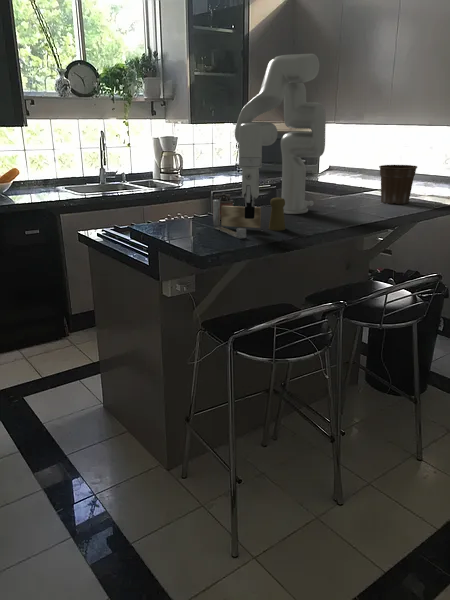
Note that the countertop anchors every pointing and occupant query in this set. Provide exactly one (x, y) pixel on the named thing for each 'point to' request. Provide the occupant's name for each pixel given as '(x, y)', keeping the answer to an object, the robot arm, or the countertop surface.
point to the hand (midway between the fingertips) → (249, 218)
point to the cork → (277, 214)
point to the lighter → (223, 201)
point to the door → (239, 217)
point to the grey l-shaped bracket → (239, 232)
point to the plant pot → (396, 183)
